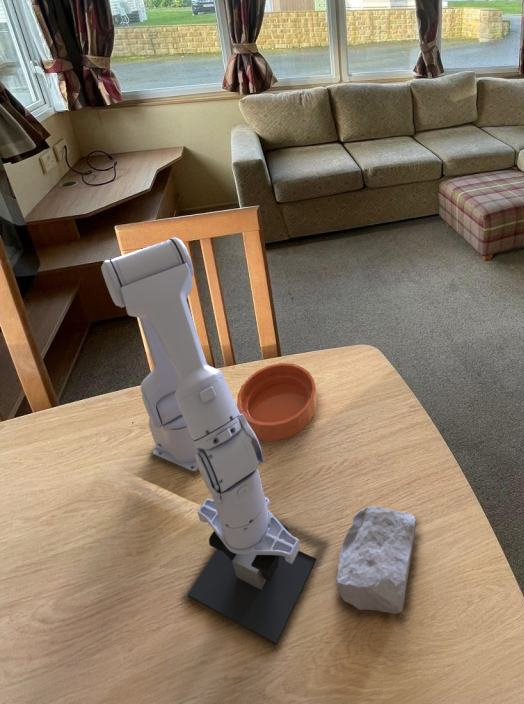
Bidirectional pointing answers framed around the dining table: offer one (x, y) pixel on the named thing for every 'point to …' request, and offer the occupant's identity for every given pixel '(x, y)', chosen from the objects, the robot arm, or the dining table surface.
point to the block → (248, 570)
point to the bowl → (278, 401)
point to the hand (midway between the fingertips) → (256, 564)
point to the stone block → (376, 559)
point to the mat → (253, 593)
